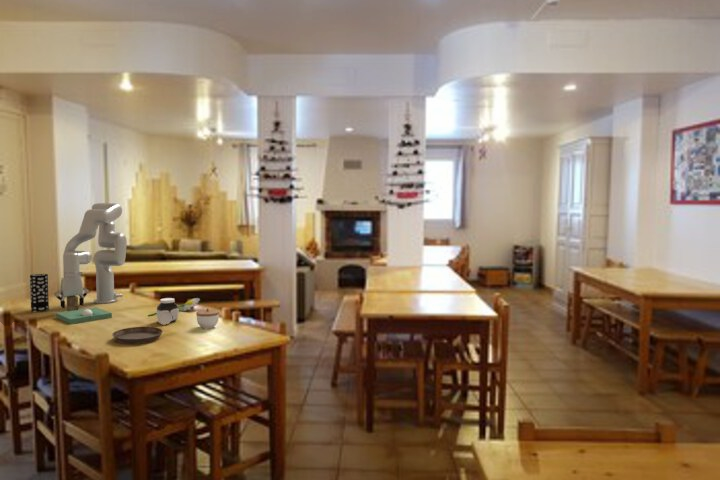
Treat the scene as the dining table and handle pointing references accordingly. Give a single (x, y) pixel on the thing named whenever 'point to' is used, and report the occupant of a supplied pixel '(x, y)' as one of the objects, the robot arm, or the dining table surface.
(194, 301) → the decorative flower
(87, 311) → the ball
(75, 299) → the brown block
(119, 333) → the plant saucer
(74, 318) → the putting mat
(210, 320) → the lidded jar
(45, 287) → the spotted tube
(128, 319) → the dining table surface
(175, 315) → the spread jar
